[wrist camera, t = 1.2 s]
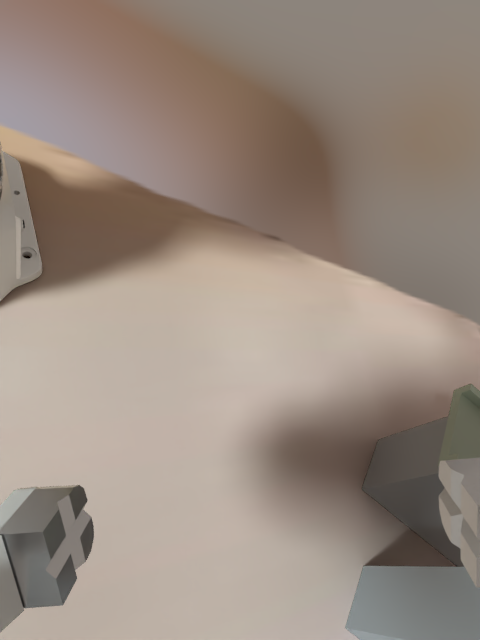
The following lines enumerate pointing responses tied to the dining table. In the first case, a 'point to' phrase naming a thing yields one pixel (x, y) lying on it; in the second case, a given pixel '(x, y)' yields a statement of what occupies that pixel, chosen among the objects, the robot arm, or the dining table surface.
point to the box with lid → (425, 468)
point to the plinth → (415, 604)
